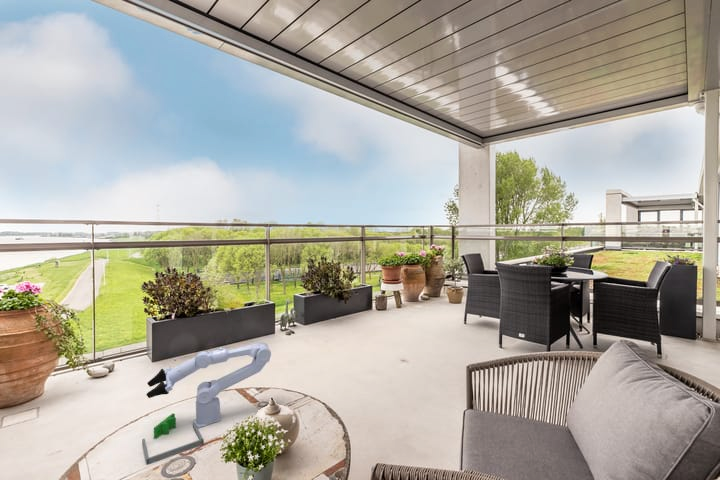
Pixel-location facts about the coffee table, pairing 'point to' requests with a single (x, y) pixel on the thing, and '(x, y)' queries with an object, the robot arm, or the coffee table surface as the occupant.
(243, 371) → the robot arm
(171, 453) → the grey u-shaped frame
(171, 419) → the green stepped block
